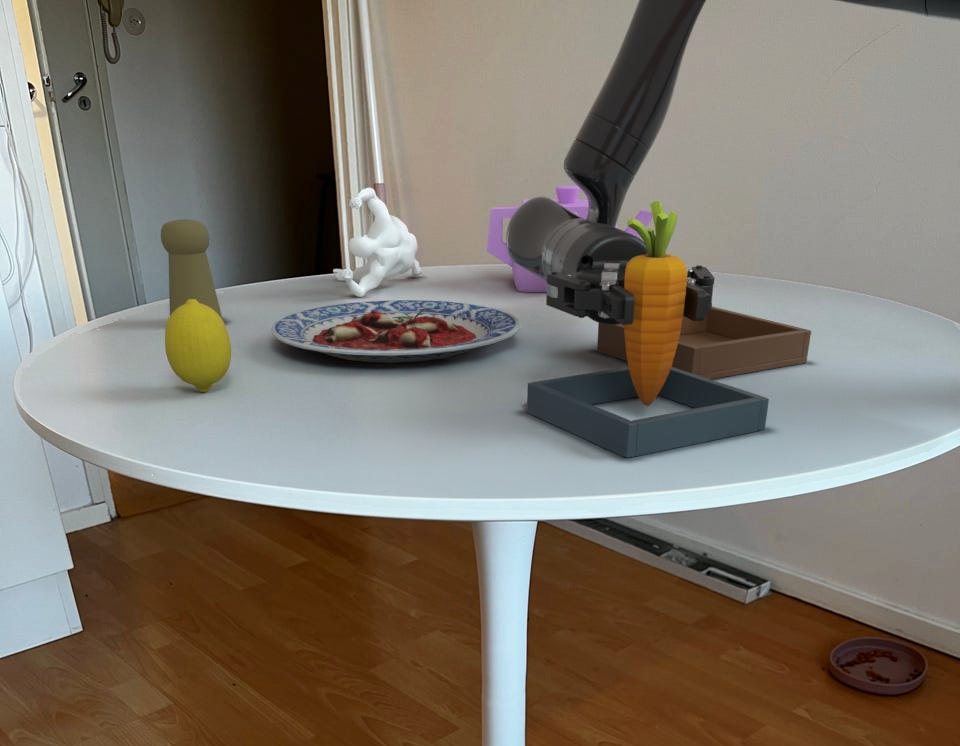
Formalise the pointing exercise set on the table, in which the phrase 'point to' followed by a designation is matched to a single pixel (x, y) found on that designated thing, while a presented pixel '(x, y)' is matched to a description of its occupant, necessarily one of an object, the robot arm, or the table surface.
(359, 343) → the ceramic plate
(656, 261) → the carrot
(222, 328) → the lemon
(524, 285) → the teakettle
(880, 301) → the table surface
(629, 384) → the dark blue-gray square frame
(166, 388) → the table surface
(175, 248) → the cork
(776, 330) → the walnut tray
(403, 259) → the person figurine
